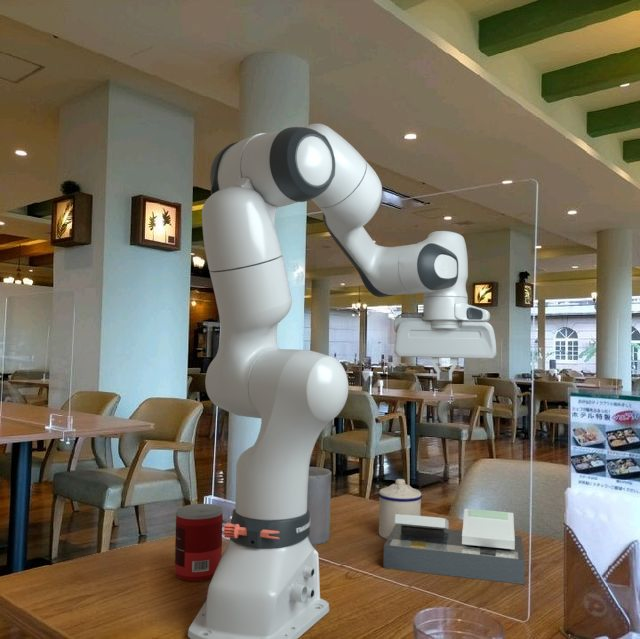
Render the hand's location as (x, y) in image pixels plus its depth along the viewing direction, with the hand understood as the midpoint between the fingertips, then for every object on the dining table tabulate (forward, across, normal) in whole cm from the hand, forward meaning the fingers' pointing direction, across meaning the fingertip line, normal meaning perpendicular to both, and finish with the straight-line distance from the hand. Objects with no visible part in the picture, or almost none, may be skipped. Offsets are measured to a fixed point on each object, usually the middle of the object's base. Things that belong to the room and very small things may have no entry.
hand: (444, 380), depth 126 cm
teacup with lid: (+33, -10, +5) cm, 35 cm away
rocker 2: (+26, +9, -8) cm, 29 cm away
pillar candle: (+33, -27, -4) cm, 43 cm away
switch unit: (+33, +3, -9) cm, 34 cm away
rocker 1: (+26, -3, -8) cm, 28 cm away
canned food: (+33, -39, -29) cm, 59 cm away
